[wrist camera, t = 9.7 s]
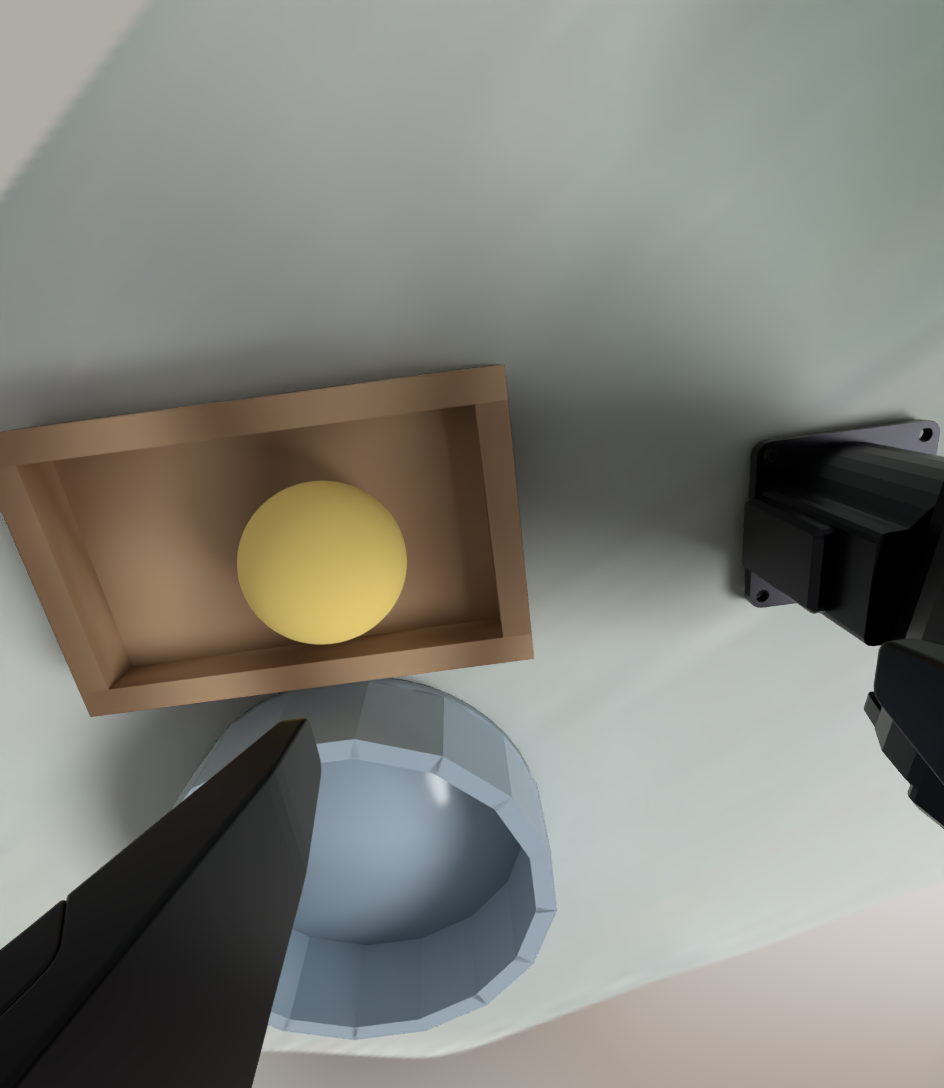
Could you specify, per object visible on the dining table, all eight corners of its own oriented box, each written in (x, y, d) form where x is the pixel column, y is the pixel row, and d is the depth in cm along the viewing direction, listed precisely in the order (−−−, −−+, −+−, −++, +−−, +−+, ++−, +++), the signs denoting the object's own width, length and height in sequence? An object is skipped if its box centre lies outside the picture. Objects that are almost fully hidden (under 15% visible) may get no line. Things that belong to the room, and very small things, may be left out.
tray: (497, 364, 18) (504, 364, 16) (524, 625, 21) (533, 658, 19) (31, 426, 18) (-31, 436, 16) (130, 677, 21) (90, 717, 19)
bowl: (521, 653, 22) (536, 715, 18) (550, 920, 27) (567, 1012, 23) (146, 702, 22) (82, 774, 18) (246, 960, 27) (213, 1058, 23)
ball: (338, 460, 19) (425, 468, 15) (364, 588, 21) (449, 622, 17) (191, 497, 16) (258, 517, 12) (236, 644, 17) (307, 699, 14)
